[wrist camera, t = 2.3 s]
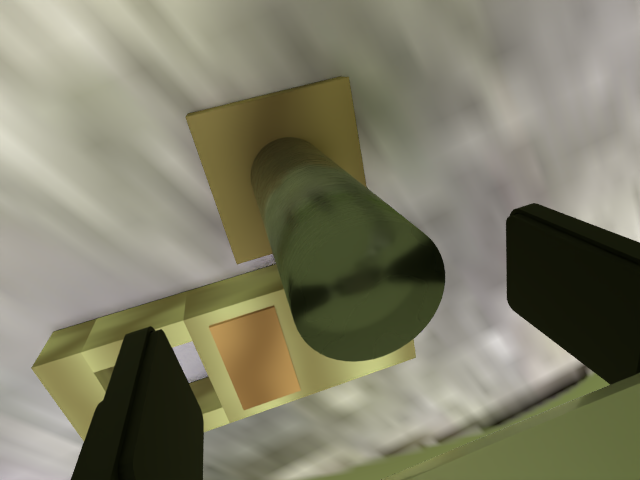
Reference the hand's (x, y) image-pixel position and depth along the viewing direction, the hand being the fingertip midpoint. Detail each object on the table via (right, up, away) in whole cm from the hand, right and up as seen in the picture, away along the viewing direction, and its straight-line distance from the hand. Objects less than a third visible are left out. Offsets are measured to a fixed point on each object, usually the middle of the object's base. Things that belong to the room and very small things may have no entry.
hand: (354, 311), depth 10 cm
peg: (-2, +5, +10) cm, 12 cm away
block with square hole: (-6, -4, +15) cm, 16 cm away
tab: (-3, +6, +11) cm, 13 cm away
